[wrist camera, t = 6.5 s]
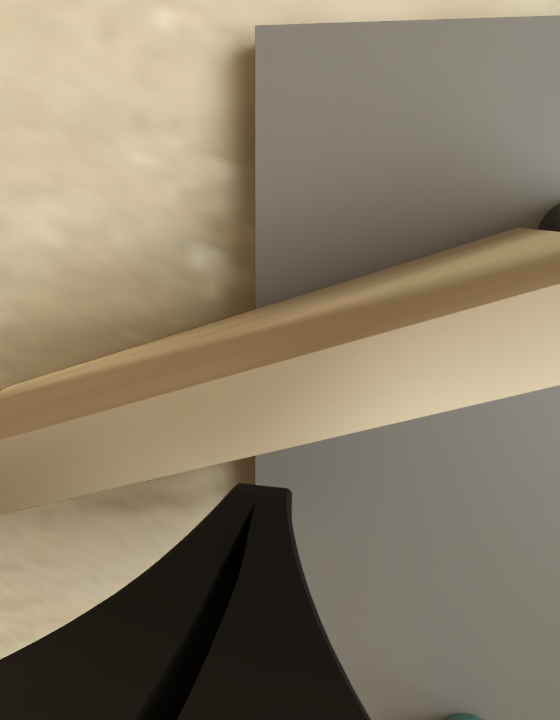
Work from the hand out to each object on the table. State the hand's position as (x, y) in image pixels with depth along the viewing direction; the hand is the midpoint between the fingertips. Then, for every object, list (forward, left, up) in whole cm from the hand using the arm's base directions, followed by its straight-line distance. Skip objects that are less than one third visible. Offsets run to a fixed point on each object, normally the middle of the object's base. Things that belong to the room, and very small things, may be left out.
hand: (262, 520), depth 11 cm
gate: (+1, -4, -1) cm, 4 cm away
